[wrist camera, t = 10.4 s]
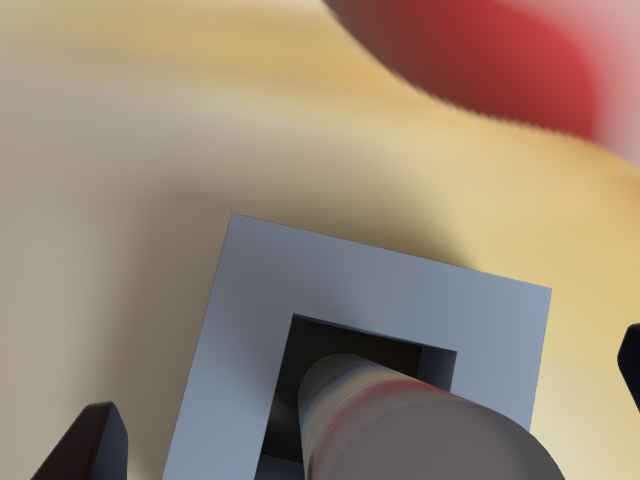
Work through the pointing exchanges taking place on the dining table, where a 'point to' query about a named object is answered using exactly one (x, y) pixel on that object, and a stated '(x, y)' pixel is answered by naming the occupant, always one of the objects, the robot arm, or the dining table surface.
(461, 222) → the dining table surface
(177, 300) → the dining table surface
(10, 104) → the dining table surface
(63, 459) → the robot arm
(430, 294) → the hole block
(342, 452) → the peg
